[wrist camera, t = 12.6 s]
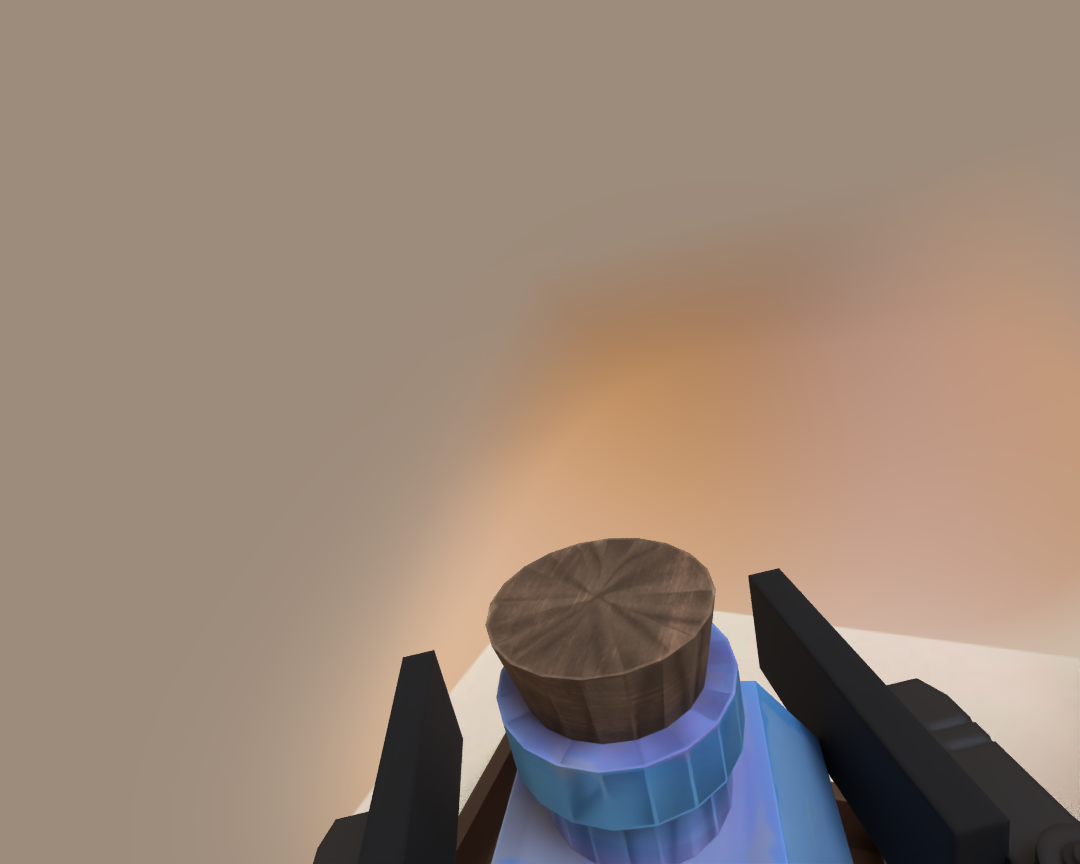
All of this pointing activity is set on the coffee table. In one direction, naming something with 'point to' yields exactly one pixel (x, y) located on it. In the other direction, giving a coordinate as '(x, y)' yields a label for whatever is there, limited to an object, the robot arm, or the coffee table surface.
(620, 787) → the perfume bottle
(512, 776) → the wooden compartment tray
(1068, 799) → the coffee table surface
